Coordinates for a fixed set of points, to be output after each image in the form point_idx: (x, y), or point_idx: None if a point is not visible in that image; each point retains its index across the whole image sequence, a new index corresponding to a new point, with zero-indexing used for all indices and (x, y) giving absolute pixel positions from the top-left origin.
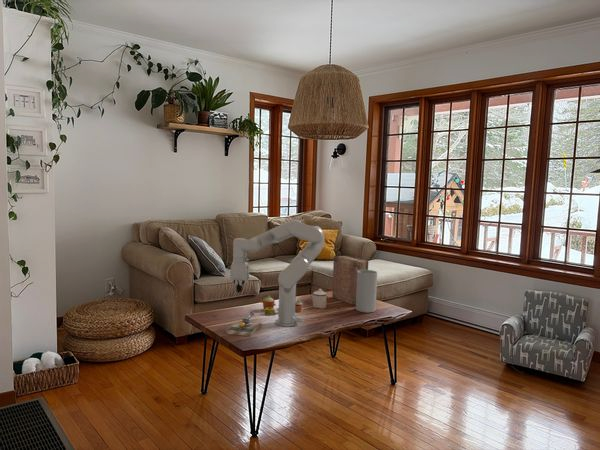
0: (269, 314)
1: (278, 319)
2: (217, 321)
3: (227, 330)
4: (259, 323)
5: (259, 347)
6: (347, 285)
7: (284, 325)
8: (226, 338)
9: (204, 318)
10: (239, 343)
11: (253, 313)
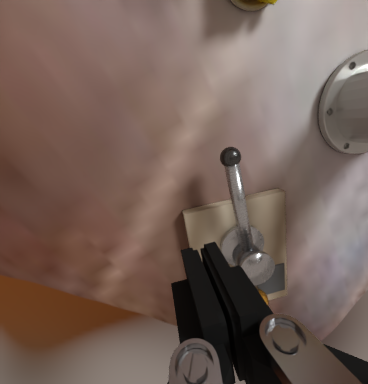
0: (260, 7)
1: (347, 128)
2: (90, 233)
3: None
4: (278, 197)
5: (326, 331)
6: None
7: (363, 152)
8: None
9: (3, 230)
10: None
11: (240, 154)
